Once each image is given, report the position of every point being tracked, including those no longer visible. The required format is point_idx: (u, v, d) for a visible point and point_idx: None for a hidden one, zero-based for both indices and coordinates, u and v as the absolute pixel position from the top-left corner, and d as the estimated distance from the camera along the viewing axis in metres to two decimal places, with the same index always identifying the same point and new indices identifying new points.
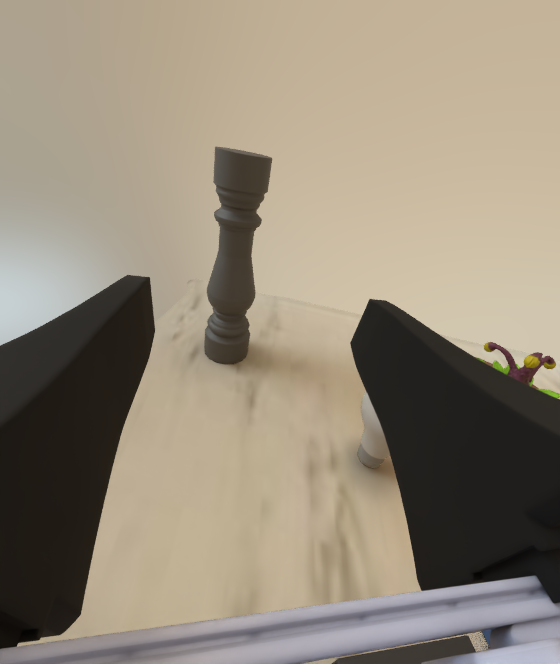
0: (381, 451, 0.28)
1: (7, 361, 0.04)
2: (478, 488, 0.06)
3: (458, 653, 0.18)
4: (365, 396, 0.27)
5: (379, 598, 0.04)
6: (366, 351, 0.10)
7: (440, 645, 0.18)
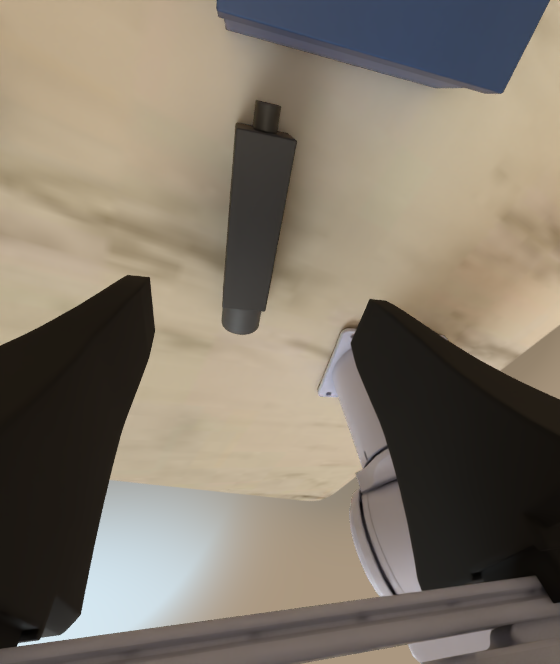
0: None
1: (7, 362, 0.04)
2: (478, 488, 0.06)
3: (248, 164, 0.13)
4: None
5: (379, 598, 0.04)
6: (366, 351, 0.10)
7: (236, 186, 0.13)
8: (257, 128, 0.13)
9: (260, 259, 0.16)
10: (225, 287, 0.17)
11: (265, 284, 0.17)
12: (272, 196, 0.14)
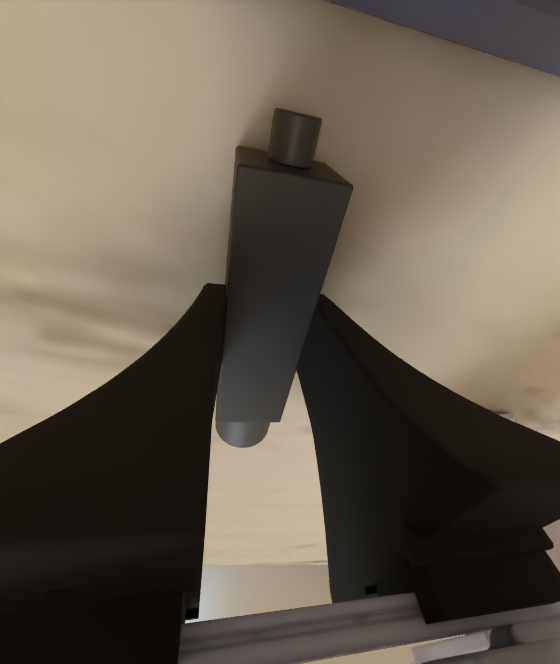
0: None
1: (164, 368, 0.05)
2: (372, 494, 0.05)
3: (260, 229, 0.07)
4: None
5: (379, 598, 0.04)
6: None
7: (237, 265, 0.07)
8: (277, 160, 0.07)
9: (276, 364, 0.10)
10: (219, 399, 0.11)
11: (282, 392, 0.11)
12: (301, 276, 0.08)
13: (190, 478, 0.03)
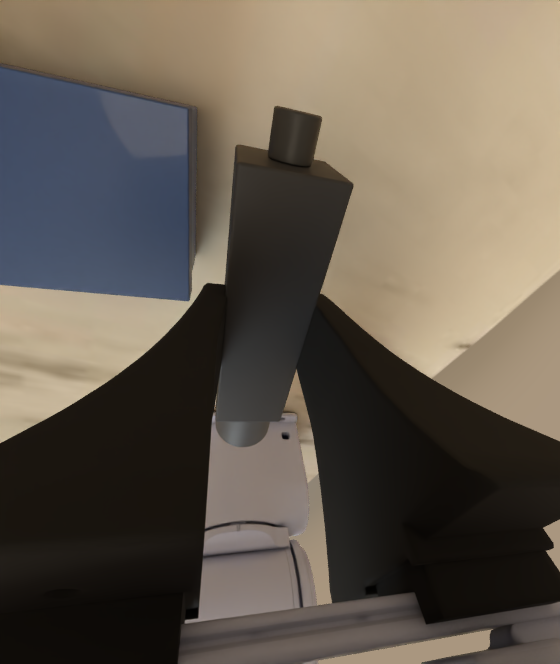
0: None
1: (164, 367, 0.05)
2: (372, 494, 0.05)
3: (260, 227, 0.07)
4: None
5: (379, 598, 0.04)
6: None
7: (237, 263, 0.07)
8: (277, 159, 0.07)
9: (276, 363, 0.10)
10: (219, 398, 0.10)
11: (282, 392, 0.11)
12: (301, 275, 0.08)
13: (190, 478, 0.03)
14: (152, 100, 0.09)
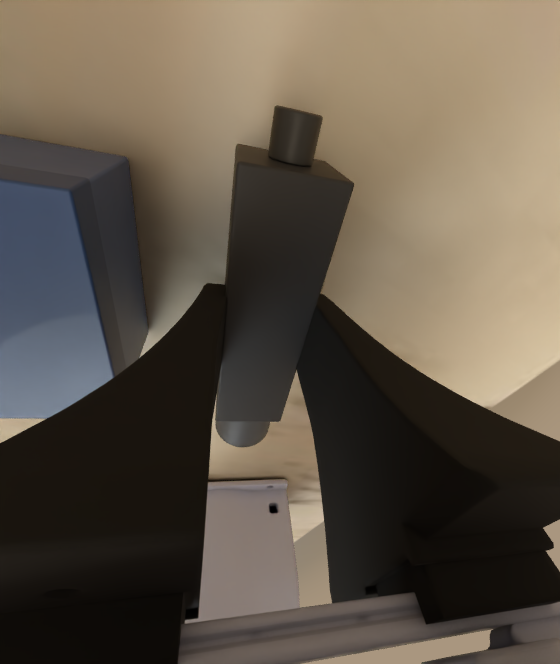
0: None
1: (164, 367, 0.05)
2: (372, 494, 0.05)
3: (261, 227, 0.07)
4: None
5: (379, 598, 0.04)
6: None
7: (237, 263, 0.07)
8: (277, 158, 0.07)
9: (277, 363, 0.10)
10: (219, 398, 0.10)
11: (282, 392, 0.11)
12: (301, 275, 0.08)
13: (190, 478, 0.03)
14: (5, 179, 0.05)
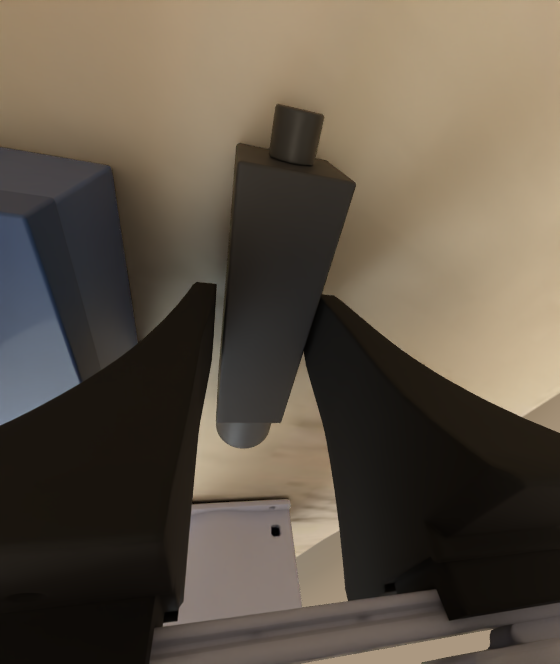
0: None
1: (143, 366, 0.05)
2: (391, 493, 0.05)
3: (261, 227, 0.07)
4: None
5: (379, 598, 0.04)
6: (313, 348, 0.10)
7: (238, 264, 0.07)
8: (278, 158, 0.07)
9: (278, 364, 0.10)
10: (220, 400, 0.10)
11: (283, 393, 0.11)
12: (302, 276, 0.08)
13: (154, 479, 0.03)
14: None
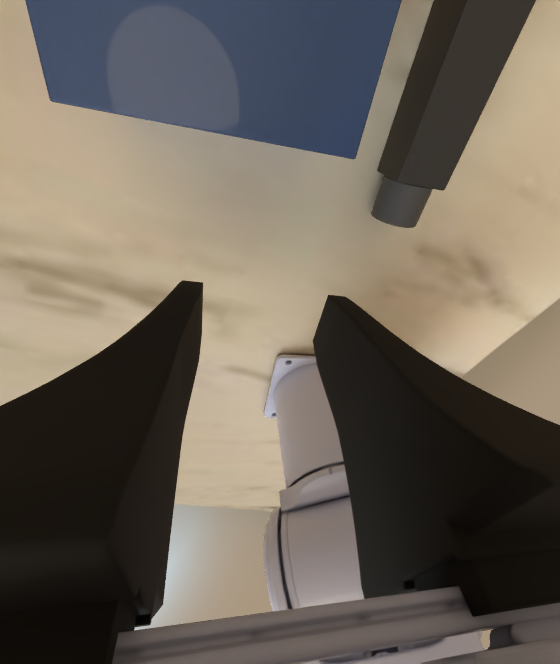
0: None
1: (116, 365, 0.05)
2: (411, 492, 0.05)
3: None
4: None
5: (379, 598, 0.04)
6: (325, 349, 0.10)
7: None
8: None
9: (471, 101, 0.12)
10: (412, 147, 0.13)
11: (461, 144, 0.13)
12: None
13: (105, 481, 0.03)
14: None
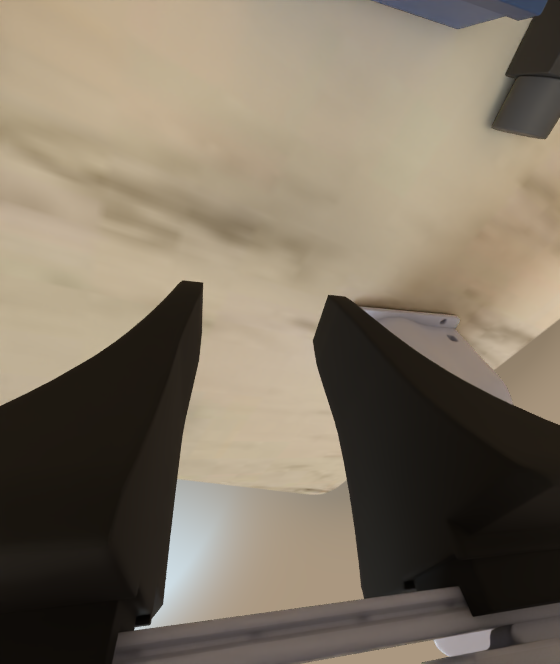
0: None
1: (117, 365, 0.05)
2: (411, 492, 0.05)
3: None
4: None
5: (379, 598, 0.04)
6: (325, 349, 0.10)
7: None
8: None
9: None
10: None
11: None
12: None
13: (105, 481, 0.03)
14: None
